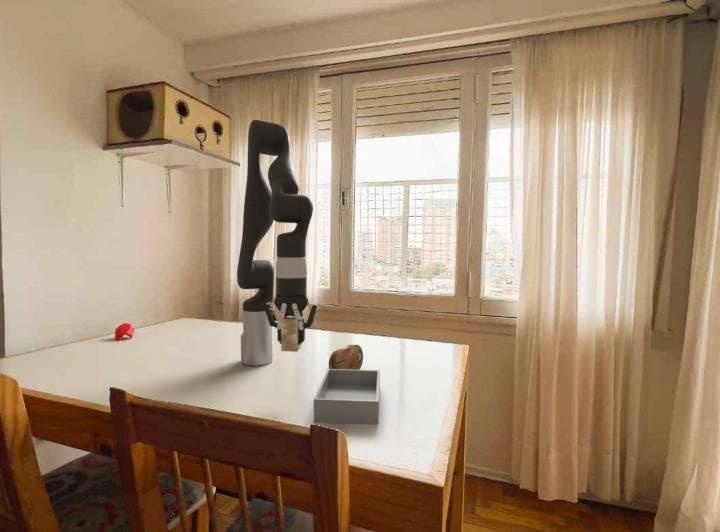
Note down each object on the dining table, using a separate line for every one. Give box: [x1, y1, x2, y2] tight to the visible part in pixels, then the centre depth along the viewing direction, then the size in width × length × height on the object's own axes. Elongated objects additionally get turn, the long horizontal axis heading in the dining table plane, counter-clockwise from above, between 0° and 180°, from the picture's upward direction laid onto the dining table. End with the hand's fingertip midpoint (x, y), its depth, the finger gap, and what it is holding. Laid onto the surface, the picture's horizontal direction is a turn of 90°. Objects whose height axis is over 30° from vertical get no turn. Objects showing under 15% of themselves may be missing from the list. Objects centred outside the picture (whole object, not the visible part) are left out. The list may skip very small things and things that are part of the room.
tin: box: [328, 344, 364, 370], centre depth 111 cm, size 15×3×8 cm, turn 148°
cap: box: [114, 322, 135, 342], centre depth 152 cm, size 8×6×6 cm
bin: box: [313, 368, 381, 425], centre depth 91 cm, size 14×20×5 cm
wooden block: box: [280, 316, 302, 353], centre depth 94 cm, size 4×4×8 cm
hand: (291, 343), depth 94 cm, fingers closed on wooden block, 4 cm apart
